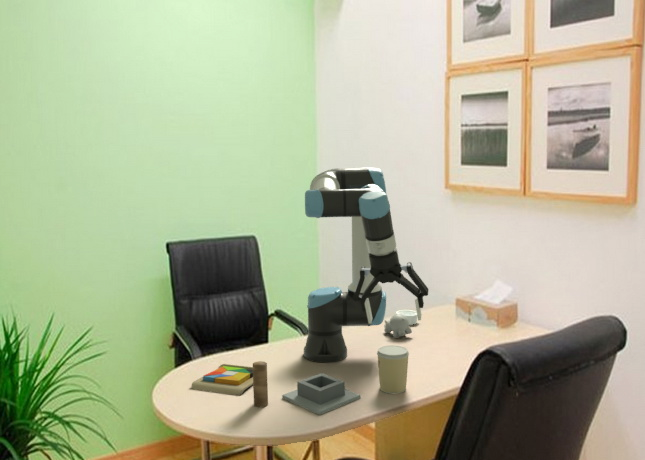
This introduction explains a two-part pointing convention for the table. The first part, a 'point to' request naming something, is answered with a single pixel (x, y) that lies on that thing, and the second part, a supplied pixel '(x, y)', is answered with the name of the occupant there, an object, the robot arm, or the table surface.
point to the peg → (260, 384)
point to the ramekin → (409, 315)
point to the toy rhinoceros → (397, 326)
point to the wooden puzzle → (226, 380)
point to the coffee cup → (392, 368)
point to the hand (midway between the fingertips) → (395, 319)
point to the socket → (321, 394)
